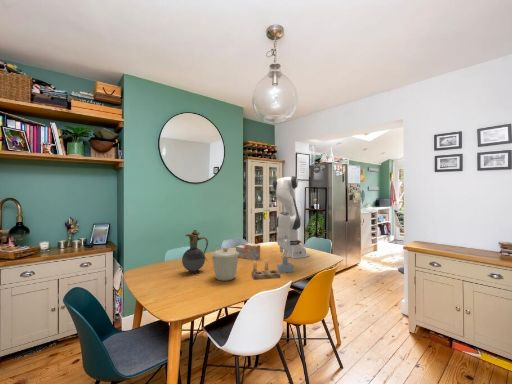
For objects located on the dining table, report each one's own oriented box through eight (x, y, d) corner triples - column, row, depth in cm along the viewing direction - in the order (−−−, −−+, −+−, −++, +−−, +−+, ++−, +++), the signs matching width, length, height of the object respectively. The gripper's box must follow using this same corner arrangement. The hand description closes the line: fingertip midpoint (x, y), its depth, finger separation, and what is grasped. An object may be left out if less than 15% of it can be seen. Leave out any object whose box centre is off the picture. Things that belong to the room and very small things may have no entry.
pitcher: (180, 272, 174) (180, 230, 173) (205, 267, 185) (204, 227, 185) (185, 276, 165) (185, 232, 165) (211, 271, 176) (211, 229, 176)
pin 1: (256, 270, 179) (256, 260, 179) (256, 271, 176) (256, 261, 176) (252, 270, 178) (252, 260, 178) (253, 271, 176) (253, 261, 175)
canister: (206, 277, 163) (206, 246, 163) (229, 271, 175) (229, 242, 175) (221, 285, 149) (221, 251, 149) (244, 278, 161) (244, 246, 161)
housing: (290, 269, 179) (290, 256, 179) (292, 272, 174) (292, 258, 174) (277, 270, 177) (277, 257, 177) (279, 273, 172) (279, 259, 172)
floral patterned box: (235, 257, 214) (235, 243, 214) (240, 255, 219) (240, 241, 219) (256, 260, 202) (256, 246, 202) (260, 259, 208) (260, 244, 208)
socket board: (276, 273, 171) (276, 269, 171) (280, 277, 163) (280, 273, 163) (251, 275, 167) (251, 271, 167) (253, 279, 160) (253, 275, 160)
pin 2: (267, 268, 181) (267, 259, 181) (268, 269, 179) (268, 260, 179) (264, 269, 181) (264, 259, 181) (265, 270, 178) (265, 260, 178)
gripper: (292, 237, 165) (292, 257, 165) (284, 232, 186) (283, 250, 185) (283, 237, 164) (283, 258, 164) (276, 232, 184) (275, 250, 184)
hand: (283, 254), depth 175 cm, fingers open, 8 cm apart
